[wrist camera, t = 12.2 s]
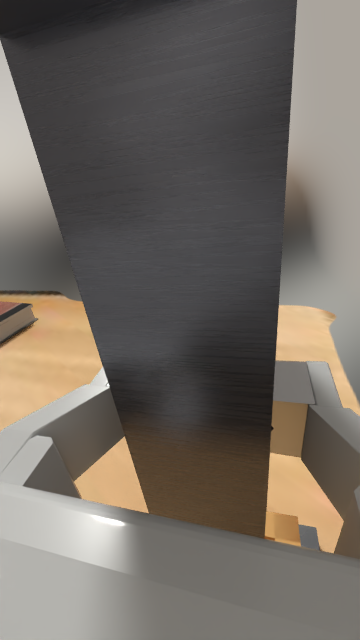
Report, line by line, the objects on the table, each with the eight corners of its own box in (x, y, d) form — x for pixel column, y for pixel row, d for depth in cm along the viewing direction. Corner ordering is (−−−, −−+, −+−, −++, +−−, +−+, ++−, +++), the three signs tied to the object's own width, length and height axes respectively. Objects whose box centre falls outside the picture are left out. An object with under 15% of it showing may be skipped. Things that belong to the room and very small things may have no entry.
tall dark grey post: (259, 649, 9) (384, -1213, 1) (174, 622, 10) (-216, -466, 2) (259, 497, 14) (280, -70, 5) (199, 486, 14) (127, -19, 6)
